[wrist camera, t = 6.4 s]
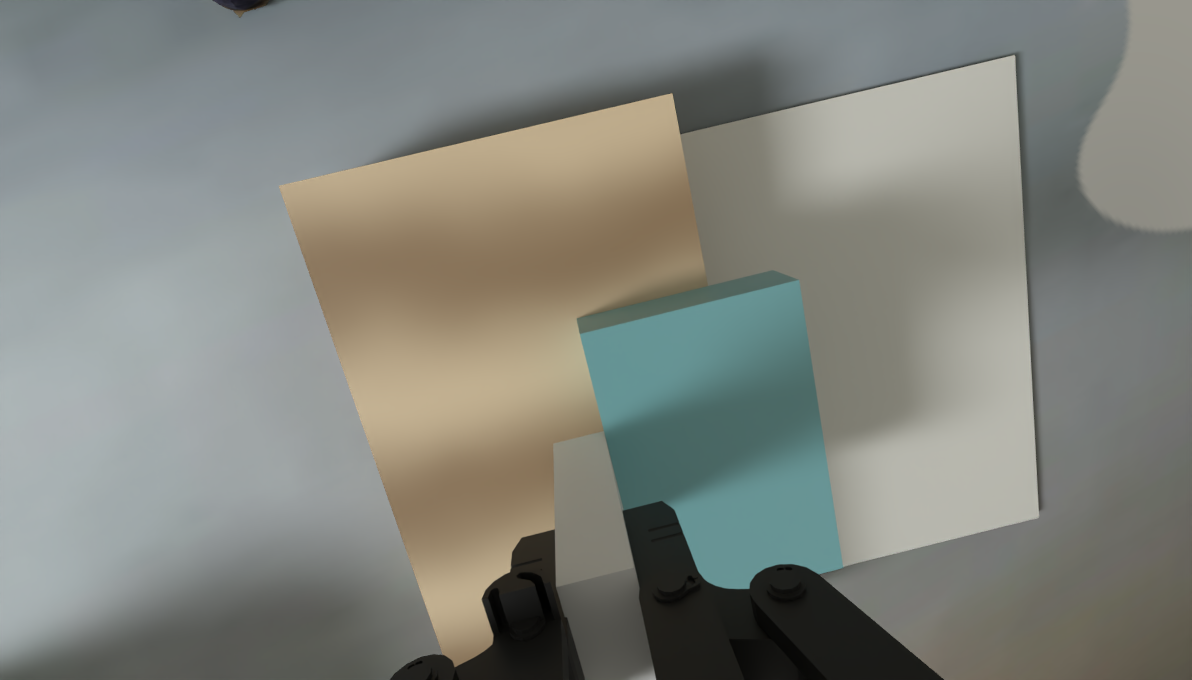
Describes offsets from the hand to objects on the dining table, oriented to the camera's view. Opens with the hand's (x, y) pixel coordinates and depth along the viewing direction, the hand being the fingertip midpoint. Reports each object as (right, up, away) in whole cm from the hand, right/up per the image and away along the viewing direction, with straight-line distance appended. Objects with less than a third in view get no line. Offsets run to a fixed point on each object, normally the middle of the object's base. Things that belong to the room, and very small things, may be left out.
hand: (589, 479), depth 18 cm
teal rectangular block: (+4, +1, +2) cm, 4 cm away
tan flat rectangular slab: (-1, +1, +5) cm, 6 cm away
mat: (+11, +4, +6) cm, 13 cm away
